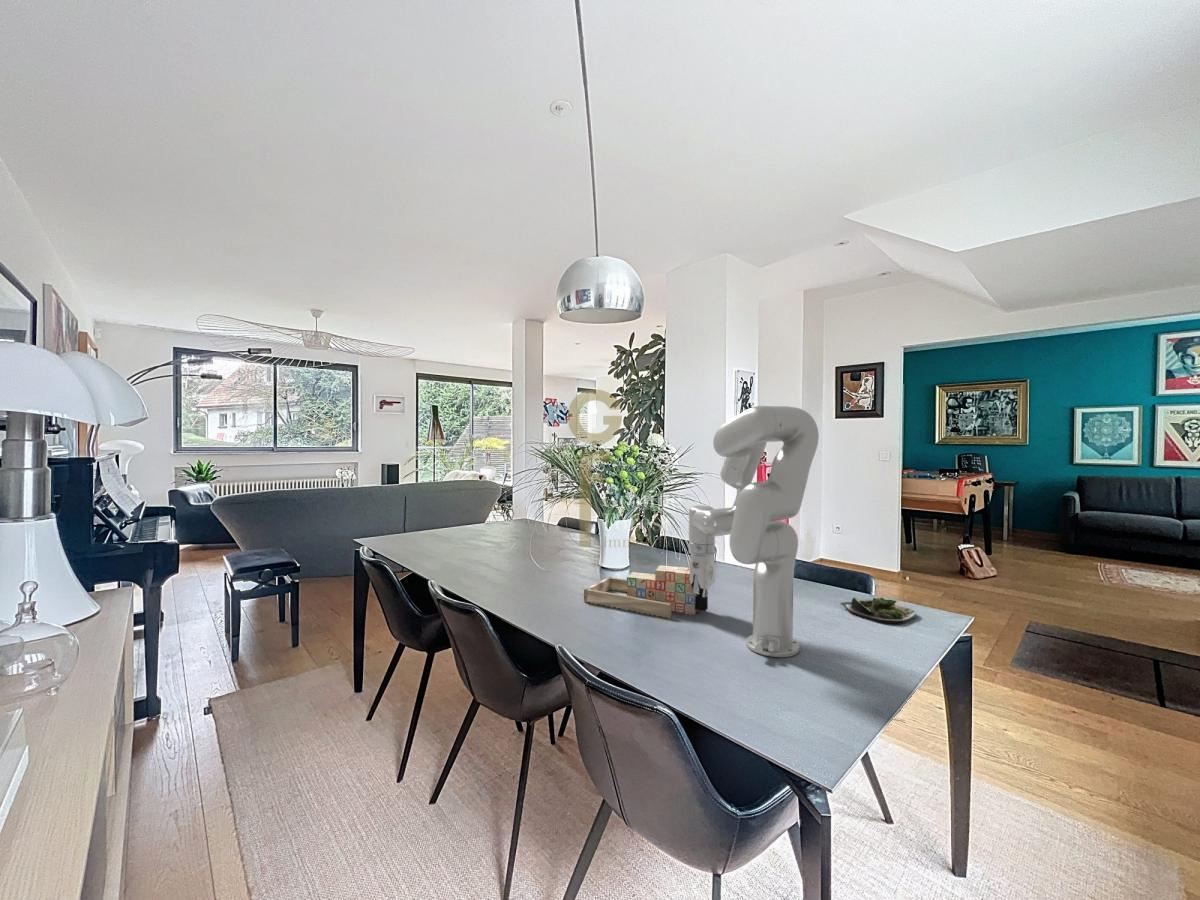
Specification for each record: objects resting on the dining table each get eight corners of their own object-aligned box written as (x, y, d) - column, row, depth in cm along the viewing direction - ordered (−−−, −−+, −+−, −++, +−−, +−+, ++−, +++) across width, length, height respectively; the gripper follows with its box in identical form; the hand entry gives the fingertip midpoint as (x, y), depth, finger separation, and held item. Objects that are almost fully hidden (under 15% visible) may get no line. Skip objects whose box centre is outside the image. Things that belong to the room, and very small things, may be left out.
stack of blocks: (626, 606, 160) (626, 567, 159) (632, 600, 165) (632, 562, 165) (695, 615, 152) (695, 573, 151) (699, 608, 158) (699, 568, 157)
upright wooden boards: (669, 618, 149) (669, 604, 149) (583, 602, 164) (583, 589, 164) (689, 602, 163) (689, 589, 163) (609, 588, 178) (609, 576, 178)
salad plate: (869, 599, 166) (869, 585, 166) (928, 615, 152) (929, 600, 151) (833, 610, 156) (834, 595, 156) (894, 629, 141) (894, 613, 141)
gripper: (705, 554, 144) (705, 619, 144) (721, 544, 157) (721, 604, 157) (680, 551, 148) (680, 615, 148) (698, 541, 160) (698, 600, 161)
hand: (701, 609), depth 153 cm, fingers closed
